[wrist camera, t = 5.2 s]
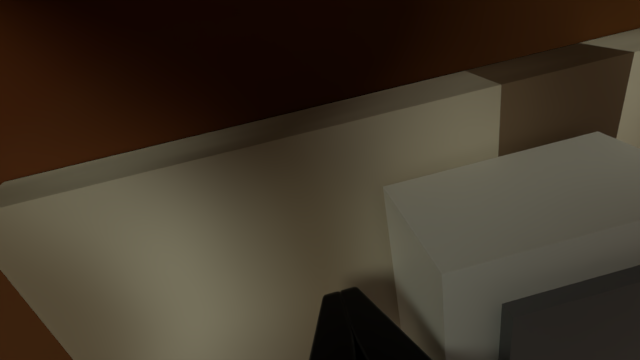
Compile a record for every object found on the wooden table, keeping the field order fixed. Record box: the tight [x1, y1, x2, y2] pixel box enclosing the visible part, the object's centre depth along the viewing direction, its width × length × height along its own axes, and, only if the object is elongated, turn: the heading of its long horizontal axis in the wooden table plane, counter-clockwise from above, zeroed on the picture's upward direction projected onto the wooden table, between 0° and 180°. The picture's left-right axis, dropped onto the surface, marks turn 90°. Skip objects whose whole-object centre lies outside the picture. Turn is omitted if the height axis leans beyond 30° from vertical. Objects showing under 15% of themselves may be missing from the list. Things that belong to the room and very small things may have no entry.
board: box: [0, 28, 640, 360], centre depth 11 cm, size 18×12×2 cm, turn 101°
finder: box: [383, 131, 640, 360], centre depth 8 cm, size 5×5×3 cm
